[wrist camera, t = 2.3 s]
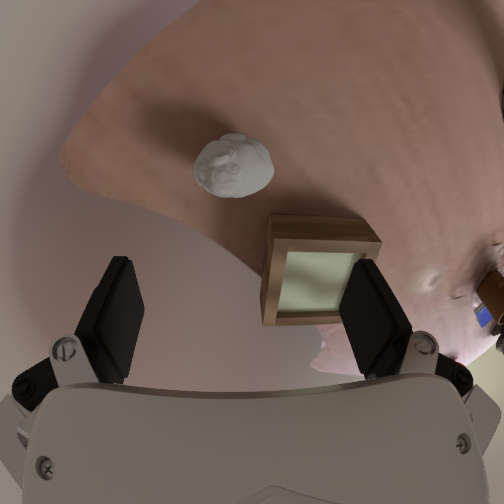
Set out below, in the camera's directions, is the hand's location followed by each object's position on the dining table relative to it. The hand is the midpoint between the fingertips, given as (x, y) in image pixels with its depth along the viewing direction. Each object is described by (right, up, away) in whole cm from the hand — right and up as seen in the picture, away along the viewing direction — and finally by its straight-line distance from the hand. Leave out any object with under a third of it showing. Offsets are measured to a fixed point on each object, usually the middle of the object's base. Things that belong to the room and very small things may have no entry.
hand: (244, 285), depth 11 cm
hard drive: (+61, -13, +37) cm, 72 cm away
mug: (+50, -4, +29) cm, 58 cm away
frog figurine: (-1, +11, +16) cm, 19 cm away
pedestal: (+8, 0, +24) cm, 25 cm away
